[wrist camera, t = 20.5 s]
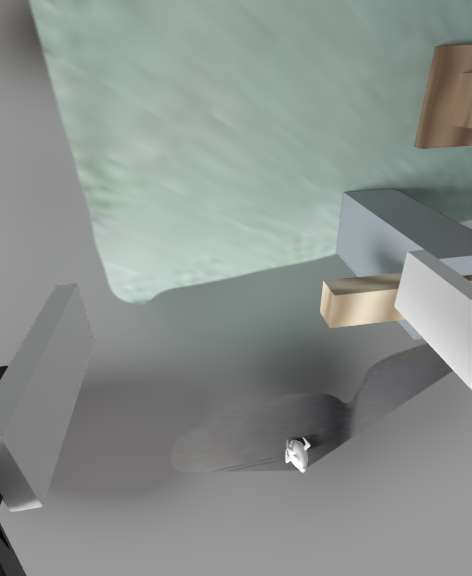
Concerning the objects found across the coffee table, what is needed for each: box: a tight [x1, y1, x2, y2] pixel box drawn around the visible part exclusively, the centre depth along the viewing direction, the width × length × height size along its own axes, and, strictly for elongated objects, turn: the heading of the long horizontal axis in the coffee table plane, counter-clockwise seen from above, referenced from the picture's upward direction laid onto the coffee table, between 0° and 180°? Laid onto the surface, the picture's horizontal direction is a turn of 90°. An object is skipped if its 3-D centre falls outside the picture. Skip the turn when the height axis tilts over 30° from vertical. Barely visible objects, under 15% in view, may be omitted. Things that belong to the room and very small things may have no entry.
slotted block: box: [336, 188, 472, 340], centre depth 47 cm, size 8×10×23 cm
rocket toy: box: [286, 437, 310, 472], centre depth 81 cm, size 5×5×8 cm
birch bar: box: [320, 273, 472, 328], centre depth 38 cm, size 26×4×3 cm, turn 92°
